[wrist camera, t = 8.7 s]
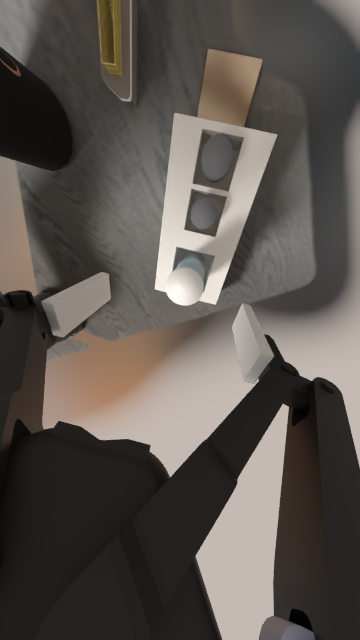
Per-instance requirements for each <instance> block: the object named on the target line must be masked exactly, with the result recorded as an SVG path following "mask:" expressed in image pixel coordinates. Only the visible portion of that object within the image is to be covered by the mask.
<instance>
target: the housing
mask: <svg viewBox="0 0 360 640" xmlns="http://www.w3.org/2000/svg"><path fill="white" fill-rule="evenodd" d="M217 134H222V135H224V136H226V137H227V138H228V139H229V140H230V142H231V144H232V149H233V156H232V161H231V164H230V167H229V170H228V172H227V174H226V176H225V177H224V178H223V179H222V180H220V181H218V182H210V181H209V180H207V179H206V177H205V176H204V173H203V168H202V163H201V156H202V151H203V148H204V146H205V144H206V142H207V141H208V140H209V139H210V138H211V137H212V136H214V135H217ZM276 137H277V134H273V133H268V132H263V131H259V130H254V129H249V128H245V127H240V126H235V125H230V124H226V123H221V122H216V121H211V120H207V119H202V118H197V117H193V116H188V115H183V114H178V113H174V120H173V129H172V138H171V147H170V156H169V165H168V174H167V183H166V192H165V201H164V211H163V220H162V229H161V238H160V247H159V256H158V265H157V274H156V283H155V289H156V290H160V291H164V292H166V289H165V284H166V280H167V278H168V276H169V275H170V274H171V272H172V271H174V270H175V269H176V268H177V266H178V265H179V264H180V262H181V261H182V259H183V258H184V257H185V256H186V255H187V254H188V253H190V252H197V253H200V254H201V255H202V256H203V257H204V259H205V271H204V278H203V283H204V288H203V293H202V296H201V298H200V299H199V301H203V302H207V303H211V304H215V305H216V302H217V299H218V297H219V294H220V291H221V288H222V286H223V283H224V280H225V277H226V275H227V272H228V269H229V266H230V264H231V261H232V258H233V255H234V253H235V250H236V247H237V244H238V242H239V239H240V236H241V233H242V231H243V228H244V225H245V222H246V220H247V217H248V214H249V211H250V209H251V206H252V203H253V200H254V198H255V195H256V192H257V189H258V187H259V184H260V181H261V178H262V176H263V173H264V170H265V167H266V165H267V162H268V159H269V156H270V154H271V151H272V148H273V145H274V143H275V140H276ZM200 198H209V199H211V200H212V201H213V202H214V203H215V205H216V208H217V216H216V219H215V221H214V223H213V224H212V225H211V226H210V227H208V228H206V229H199V228H197V227H196V226H195V225H194V224H193V223H192V220H191V209H192V206H193V204H194V203H195V202H196V201H197V200H198V199H200Z"/></svg>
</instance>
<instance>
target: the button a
mask: <svg viewBox="0 0 360 640" xmlns="http://www.w3.org/2000/svg"><path fill="white" fill-rule="evenodd" d="M216 216H217V208H216V205H215V203H214V202H213V201H212V200H211V199H209V198H200V199H198V200H197V201H196V202H195V203H194V204H193V206H192V209H191V220H192V223H193V224H194V225H195V226H196V227H197V228H199V229H206V228H208V227H210V226H211V225H212V224H213V223H214V221H215V219H216Z"/></svg>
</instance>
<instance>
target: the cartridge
mask: <svg viewBox="0 0 360 640" xmlns="http://www.w3.org/2000/svg"><path fill="white" fill-rule="evenodd" d="M204 271H205V259H204V257H203V256H202V255H201V254H200V253H197V252H190V253H188V254H187V255H186V256H185V257H184V258H183V259H182V261H181V262H180V264H179V265H178V266H177V268H176V269H175V270H174V271H172V272H171V274H170V275H169V276H168V278H167V280H166V284H165V289H166V293H167V295H168V297H169V298H170V299H171V300H172V301H173V302H175V303H177V304H179V305H191V304H194V303H195V302H197V301H198V300H199V299H200V298H201V296H202V293H203V288H204V283H203V278H204Z"/></svg>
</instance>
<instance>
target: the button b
mask: <svg viewBox="0 0 360 640" xmlns="http://www.w3.org/2000/svg"><path fill="white" fill-rule="evenodd" d="M232 156H233V149H232V144H231V142H230V140H229V139H228V138H227V137H226V136H224V135H222V134H217V135H214V136H212V137H211V138H210V139H209V140H208V141H207V142H206V144H205V146H204V148H203V151H202V156H201V163H202V168H203V173H204V176H205V177H206V179H207V180H209V181H210V182H218V181H220V180H222V179H223V178H224V177H225V176H226V174H227V172H228V170H229V167H230V164H231V161H232Z"/></svg>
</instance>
